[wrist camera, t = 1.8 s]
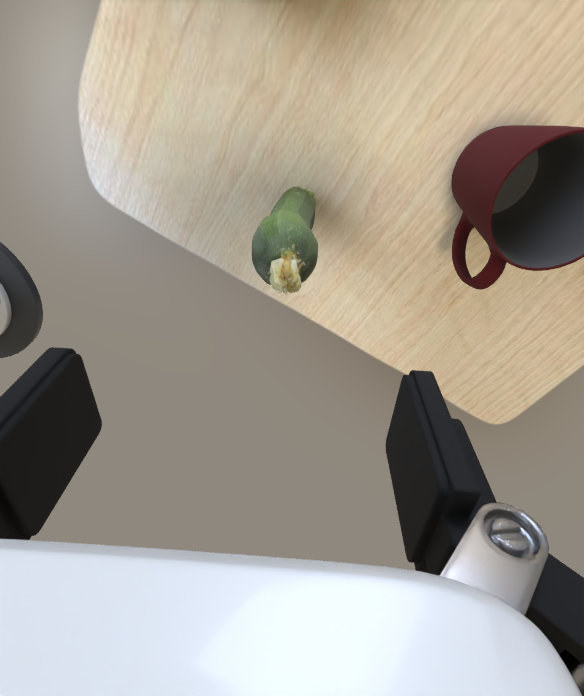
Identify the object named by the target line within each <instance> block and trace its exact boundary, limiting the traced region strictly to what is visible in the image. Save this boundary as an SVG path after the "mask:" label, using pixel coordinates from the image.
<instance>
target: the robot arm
mask: <svg viewBox="0 0 584 696" xmlns="http://www.w3.org/2000/svg"><path fill="white" fill-rule="evenodd" d="M11 315H12V311H11V304H10V301H9V298H8V295H7V293H6V291H5V289H4V287H3V286H2V284H1V283H0V335H1V334H2V333H3V332H4V331H5V330H6V329H7V328H8V326H9V324H10V322H11ZM101 426H102V421H101V418H100V415H99V412H98V408H97V405H96V402H95V398H94V395H93V392H92V389H91V386H90V383H89V380H88V376H87V373H86V370H85V367H84V363H83V360H82V358H81V356H80V355H79V354H76V352H75V351H74V350H73V349H68V348H53V347H52V348H49V349H48V350H46V352H45V353H43V355H42V356H41V357H39V358H38V359H37V361H35V363H34V364H33V365H32V366H31V367H30V368H29V369H28V370H27V371H26V372H25V373H24V374H23V375H22V376H21V377H20V378H19V379H18V380H17V381H16V382H15V383H14V384H13V385H12V386H11V387H10V388H9V389H8V390H7V391H6V392H5V393H4V394H3V395H2V396H1V397H0V696H584V578H583V577H581V576H580V575H579V574H577V573H576V572H574V571H573V570H572V569H570V568H569V567H567V566H566V565H565V564H563V563H562V562H560V561H559V560H558V559H556V558H555V557H553V556H552V555H550V554H549V553H548V551H549V545H548V541H547V537H546V535H545V534H544V532H543V530H542V528H541V527H540V526H539V525H538V524H537V523H536V521H535V520H534V519H533V518H532V517H530V516H529V515H528V514H526V513H525V512H524V511H522V510H520V509H518V508H516V507H514V506H512V505H508V504H504V503H497V502H496V500H495V497H494V495H493V493H492V491H491V488H490V486H489V483H488V481H487V479H486V477H485V474H484V472H483V470H482V468H481V465H480V463H479V460H478V458H477V456H476V453H475V451H474V449H473V447H472V444H471V442H470V439H469V437H468V435H467V433H466V430H465V428H464V426H463V424H462V422H461V421H460V420H459V419H452V418H451V416H450V414H449V411H448V409H447V406H446V404H445V401H444V399H443V396H442V394H441V391H440V389H439V386H438V384H437V381H436V379H435V377H434V374H433V373H432V372H431V371H415V370H412V371H410V373H409V375H404V376H403V378H402V381H401V385H400V388H399V392H398V396H397V400H396V404H395V408H394V412H393V416H392V420H391V423H390V427H389V431H388V435H387V439H386V453H387V458H388V463H389V469H390V474H391V479H392V484H393V490H394V495H395V500H396V505H397V510H398V515H399V521H400V526H401V531H402V536H403V541H404V546H405V552H406V556H407V559H408V561H409V562H414V564H415V569H416V571H414V570H407V569H400V568H393V567H384V566H373V565H363V564H351V563H341V562H329V561H317V560H305V559H292V558H278V557H264V556H251V555H239V554H225V553H211V552H197V551H182V550H169V549H154V548H140V547H125V546H110V545H94V544H80V543H64V542H49V541H34V540H29V539H30V538H31V536H34V535H36V534H37V533H38V532H39V531H40V530H41V528H42V526H43V525H44V523H45V521H46V520H47V518H48V516H49V515H50V513H51V511H52V510H53V508H54V507H55V505H56V503H57V502H58V500H59V498H60V497H61V495H62V494H63V492H64V490H65V489H66V487H67V485H68V484H69V482H70V480H71V479H72V477H73V475H74V474H75V472H76V470H77V469H78V467H79V466H80V464H81V462H82V461H83V459H84V457H85V456H86V454H87V452H88V451H89V449H90V447H91V446H92V444H93V443H94V441H95V439H96V438H97V436H98V434H99V433H100V430H101Z"/></svg>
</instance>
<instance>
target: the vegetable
mask: <svg viewBox="0 0 584 696" xmlns="http://www.w3.org/2000/svg"><path fill="white" fill-rule="evenodd" d="M314 218H315V199H314V194H313V193H312V192H310V191H307V190H304V189H301V188H300V187H293V188H291V189H289V190H287V191H286V192H285V193H284V194H283V195H282V197H281V198H280V200H279V201H278V203H277V204H276V205H275V207H274V208H273V210H272V212H271V214H270V216H268V217H266V218H265V219H264V220H263V221H262V223H261V225H260V226H259V228H258V229H257V231H256V233H255V235H254V237H253V240H252V261H253V265H254V267H255V269H256V271H257V273H258V274H259V275H260V276H261V277H262V279H263V280H264V281H265V282H266V283H268V284H270V285H272V287H273V288H274V289H276V290H278V291H279V293H281V292H282V291H283V292H284V293H285V294H287V292H290V293H292V292H297V291H299V290H300V287H301V283H302V282H304V281H305V280H306V279H307V278H308V277H309V276H310V274H311V273H312V271H313V270H314V268H315V266H316V263H317V257H318V243H317V240H316V238H315V236H314V235H313V233H312V231H311V229H312V227H313V224H314Z"/></svg>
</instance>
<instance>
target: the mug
mask: <svg viewBox="0 0 584 696" xmlns="http://www.w3.org/2000/svg"><path fill="white" fill-rule="evenodd" d="M452 191H453V195H454V198H455V200H456V202H457V203H458V205H459V206H460V208H461V209H462V211H463V213H462V216H461V219H460V221H459V224H458V226H457V228H456V230H455V234H454V238H453V244H452V259H453V264H454V267H455V270H456V272H457V274H458V276H459V277H460V279H461V280H462V281H463V282H465V283H466V284H467V285H469V286H471V287H473V288H475V289H485V288H488V287H489V286H491V285H492V284H493V283H494V282H495V281H496V280H497V279H498V278H499V277H500V275H501V274H502V272H503V270H504V268H505V265H506V263H507V262H508V263H509V264H511V265H513V266H515V267H518V268H521V269H526V270H532V271H541V270H550V269H555V268H560V267H563V266H566V265H568V264H571V263H573V262H576V261H577V260H579V259H581V258H583V257H584V128H582V127H570V126H501V127H497V128H493V129H491V130H488V131H486V132H484V133H482V134H481V135H479V136H478V137H476V138H475V139H474V140H473V141H472V142H471V143H470V144H469V145H468V146H467V147H466V148H465V149H464V151H463V152H462V153H461V155H460V157H459V158H458V160H457V162H456V165H455V168H454V171H453V175H452ZM474 227H475V228H476V229H477V231H478V232H479V233H480V235H481V236H482V237H483V238H484V240H485V241H486V242H487V244H488V246H489V249H490V252H491V255H490V258H489V261H488V263H487V264H486V266H485V267H484V269H483V270H482V271H481V272H480V273H479V274H478V275H477V276H475V277H473V278H472V277H471V276H470V274H469V271H468V269H467V265H466V259H465V250H466V243H467V239H468V236H469V233H470V231H471V230H472V228H474Z"/></svg>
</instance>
